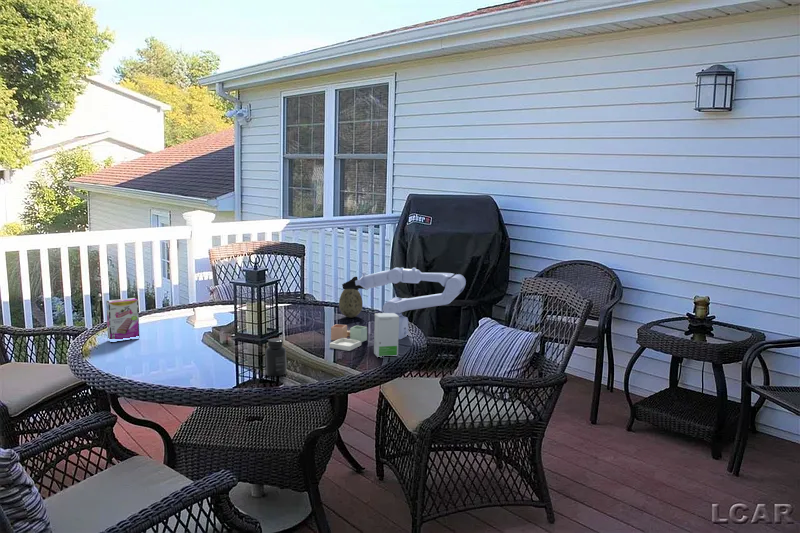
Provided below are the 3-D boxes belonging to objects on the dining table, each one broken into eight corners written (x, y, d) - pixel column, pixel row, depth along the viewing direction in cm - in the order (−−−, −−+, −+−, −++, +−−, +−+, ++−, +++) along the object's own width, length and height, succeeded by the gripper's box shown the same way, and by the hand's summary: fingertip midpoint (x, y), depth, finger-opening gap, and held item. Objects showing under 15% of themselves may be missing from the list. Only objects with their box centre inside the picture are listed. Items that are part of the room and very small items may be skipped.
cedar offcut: (360, 335, 273) (360, 330, 273) (359, 337, 270) (359, 332, 270) (346, 334, 274) (346, 330, 274) (345, 336, 271) (345, 332, 271)
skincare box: (377, 358, 241) (377, 317, 239) (373, 353, 248) (373, 313, 245) (399, 356, 244) (399, 316, 241) (394, 351, 250) (395, 312, 247)
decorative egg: (346, 313, 310) (346, 282, 308) (366, 316, 305) (366, 284, 303) (334, 318, 301) (334, 286, 298) (355, 321, 296) (355, 288, 294)
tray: (361, 345, 258) (361, 340, 257) (349, 351, 250) (349, 346, 250) (341, 342, 262) (341, 337, 261) (329, 347, 254) (329, 343, 254)
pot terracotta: (347, 338, 268) (347, 325, 267) (342, 341, 263) (342, 328, 262) (335, 337, 269) (335, 324, 269) (331, 340, 265) (331, 327, 264)
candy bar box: (110, 343, 255) (108, 302, 252) (107, 340, 259) (105, 300, 256) (140, 339, 261) (138, 299, 259) (137, 336, 265) (135, 297, 263)
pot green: (367, 340, 266) (367, 326, 265) (360, 343, 261) (360, 329, 260) (356, 338, 268) (356, 325, 267) (350, 341, 264) (350, 328, 263)
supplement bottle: (287, 370, 225) (287, 337, 223) (284, 377, 219) (284, 342, 217) (267, 370, 225) (267, 337, 223) (264, 377, 218) (263, 342, 216)
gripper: (380, 270, 278) (352, 277, 282) (367, 270, 264) (337, 277, 269) (383, 286, 277) (355, 293, 282) (370, 287, 264) (340, 294, 268)
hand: (346, 286), depth 275 cm, fingers open, 7 cm apart
